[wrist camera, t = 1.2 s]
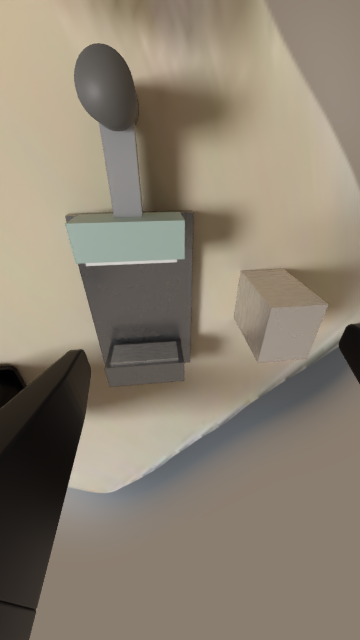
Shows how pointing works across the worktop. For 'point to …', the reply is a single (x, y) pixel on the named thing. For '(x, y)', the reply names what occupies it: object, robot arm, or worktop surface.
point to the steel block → (277, 314)
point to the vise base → (142, 315)
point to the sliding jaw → (119, 173)
